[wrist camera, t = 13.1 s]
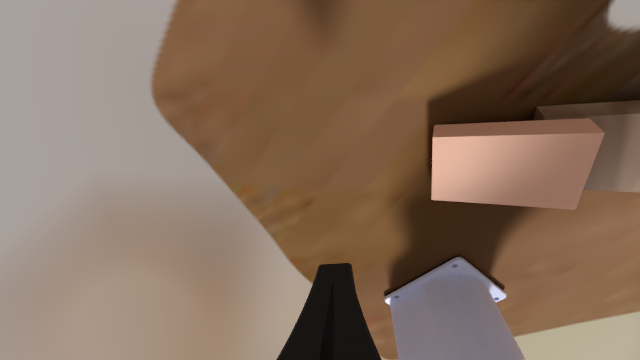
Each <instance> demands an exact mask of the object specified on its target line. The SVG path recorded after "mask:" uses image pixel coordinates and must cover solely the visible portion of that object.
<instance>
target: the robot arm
mask: <svg viewBox="0 0 640 360" xmlns="http://www.w3.org/2000/svg"><path fill="white" fill-rule="evenodd" d="M506 296H507V295H506V294H505V292H504V291H503V290H502V289H500V288H499V287H498V286H497V285H495V284H494V283H493V282H492V281H490V280H489V279H488V278H487V277H486V276H484V275H483V274H482V273H481V272H479V271H478V270H477V269H476V268H474V267H473V266H472V265H471V264H470V263H468V262H467V261H466V260H465V259H463V258H462V257H456V258H454V259H452V260H450V261H448V262H446V263H445V264H443V265H441V266H439V267H437V268H436V269H434V270H432V271H430V272H428V273H427V274H425V275H423V276H421V277H419V278H418V279H416V280H414V281H412V282H410V283H409V284H407V285H405V286H403V287H401V288H400V289H398V290H396V291H394V292H392V293H391V294H389V295H387V296H385V298H384V299H385V302H386V303H387V304H389V305H390V309H391V315H392V321H393V327H394V334H395V340H396V346H397V352H398V359H399V360H526V359H525V358H524V356H523V354H522V352H521V350H520V348H519V346H518V344H517V342H516V340H515V339H514V337H513V335H512V333H511V331H510V329H509V327H508V325H507V323H506V322H505V320H504V318H503V316H502V314H501V312H500V310H499V308H498V306H497V305H496V303H495V302H498V301H500V300H502V299H504V298H506ZM277 360H381V358H380V355H379V353H378V351H377V349H376V346H375V344H374V342H373V339H372V337H371V334H370V332H369V329H368V327H367V324H366V321H365V319H364V316H363V313H362V310H361V307H360V304H359V301H358V298H357V294H356V290H355V284H354V278H353V272H352V265H351V264H349V263H342V264H324V265H320V266H319V267H318V270H317V274H316V277H315V280H314V283H313V285H312V288H311V291H310V293H309V296H308V298H307V301H306V303H305V305H304V307H303V310H302V312H301V314H300V316H299V319H298V321H297V323H296V324H295V327H294V329H293V331H292V333H291V335H290V337H289V338H288V340H287V342H286V344H285V346H284V348H283V349H282V351H281V353H280V355H279V356H278V358H277Z"/></svg>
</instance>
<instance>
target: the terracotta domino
mask: <svg viewBox="0 0 640 360" xmlns="http://www.w3.org/2000/svg"><path fill="white" fill-rule="evenodd" d="M604 134H605V132H604V131H602V130H601V129H600V128H599V127H598V126H597V125H596V124H595V123H594V122H593V121H592V120H591V119H590V118H582V119H559V120H536V121H514V122H491V123H468V124H446V125H434V131H433V145H432V196H431V200H440V201H455V202H470V203H484V204H499V205H513V206H528V207H543V208H557V209H572V210H576V207H577V204H578V202H579V199H580V197H581V194H582V191H583V189H584V186H585V184H586V181H587V178H588V176H589V173H590V171H591V168H592V165H593V163H594V160H595V158H596V155H597V152H598V150H599V147H600V145H601V142H602V139H603V137H604Z"/></svg>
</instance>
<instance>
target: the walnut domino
mask: <svg viewBox="0 0 640 360" xmlns="http://www.w3.org/2000/svg"><path fill="white" fill-rule="evenodd" d="M582 118H590V119H591V120H592V121H593V122H594V123H595V124H596V125H597V126H598V127H599V128H600V129H601V130H602V131H604V132H605V134H604V137H603V139H602V142H601V145H600V147H599V150H598V152H597V155H596V158H595V160H594V163H593V165H592V168H591V171H590V173H589V176H588V178H587V181H586V184H585V186H584V189H583V190H601V191H623V192H640V100H636V101H619V102H602V103H586V104H569V105H553V106H536V111H535V115H534V120H533V121H536V120H559V119H582Z"/></svg>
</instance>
